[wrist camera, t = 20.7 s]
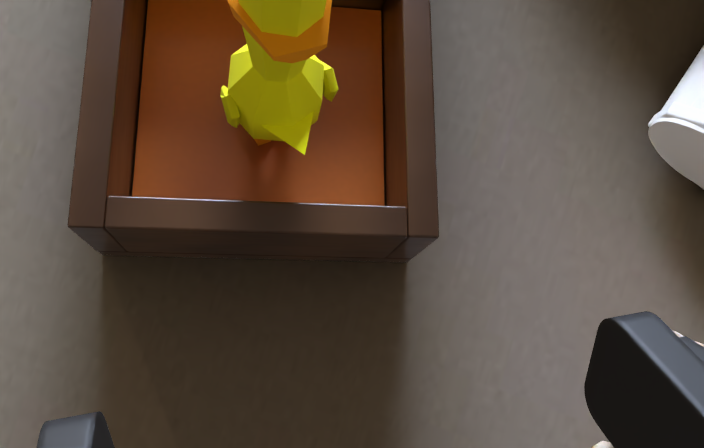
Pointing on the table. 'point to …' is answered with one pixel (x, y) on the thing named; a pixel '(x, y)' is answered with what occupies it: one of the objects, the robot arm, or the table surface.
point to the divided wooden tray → (241, 149)
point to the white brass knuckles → (683, 125)
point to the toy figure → (279, 69)
